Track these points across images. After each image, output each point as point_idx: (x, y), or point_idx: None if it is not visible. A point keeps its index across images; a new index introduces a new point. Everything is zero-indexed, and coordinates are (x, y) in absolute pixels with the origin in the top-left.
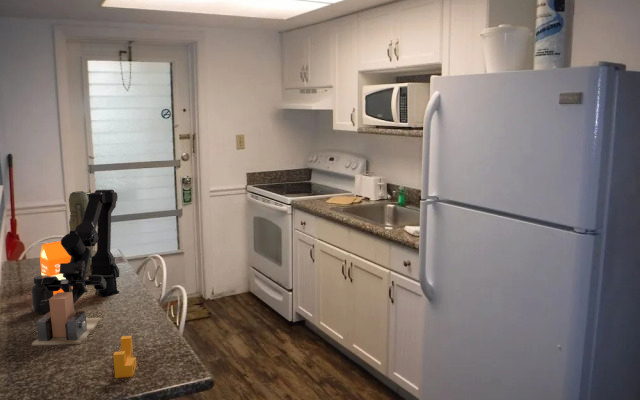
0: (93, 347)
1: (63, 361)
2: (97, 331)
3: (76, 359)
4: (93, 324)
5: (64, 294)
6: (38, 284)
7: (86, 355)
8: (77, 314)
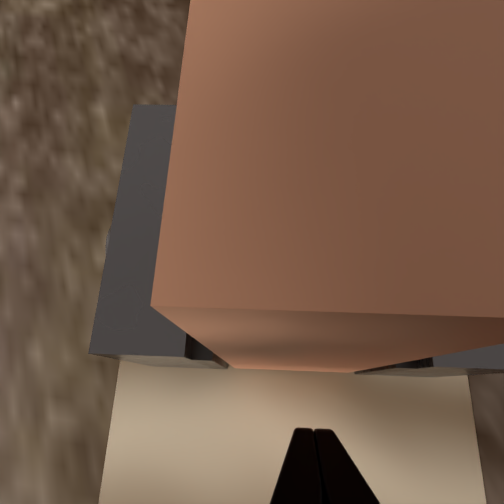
0: (70, 124)
1: (180, 10)
2: (81, 353)
3: (127, 21)
4: (122, 474)
5: (302, 126)
6: None
7: (90, 50)
8: (153, 252)
